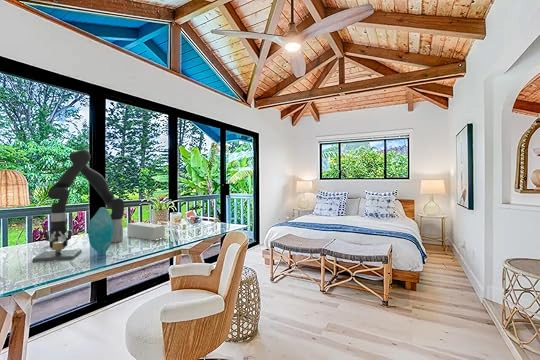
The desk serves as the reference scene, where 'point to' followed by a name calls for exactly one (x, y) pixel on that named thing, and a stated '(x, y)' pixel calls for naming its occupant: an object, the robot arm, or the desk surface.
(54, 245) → the bronze ring
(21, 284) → the desk surface
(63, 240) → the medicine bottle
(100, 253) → the crystal
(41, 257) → the piston stand
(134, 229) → the light grey long block
